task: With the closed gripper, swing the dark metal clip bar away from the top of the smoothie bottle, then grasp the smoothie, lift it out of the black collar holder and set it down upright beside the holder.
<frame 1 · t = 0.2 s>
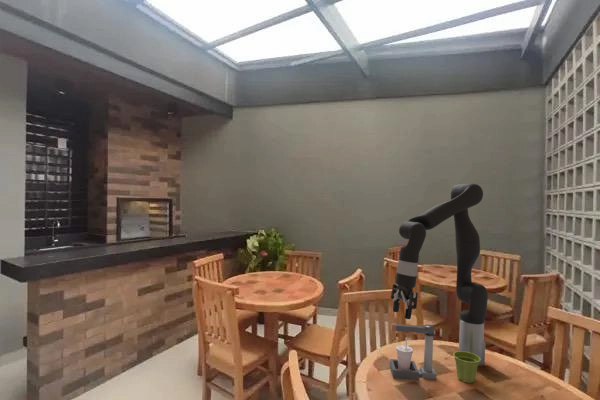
hand: (401, 315, 133), 23 cm above the table, tool pointing down, fingers open, 8 cm apart
holder: (403, 373, 135), on the table
smoothie: (403, 373, 135), resting in holder
clip: (412, 328, 135), point 18 cm above the table, hinge at 0.0°
plant pot: (465, 379, 132), on the table
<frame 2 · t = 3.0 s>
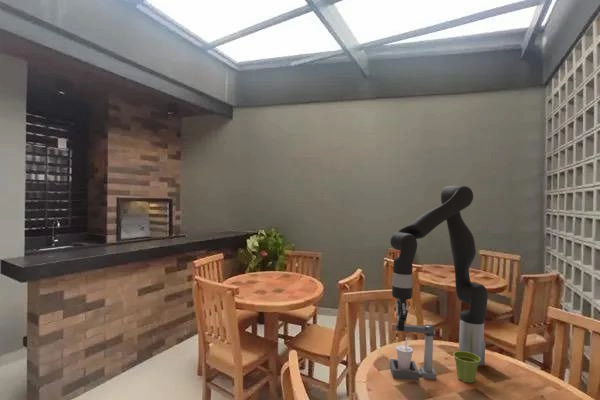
hand: (400, 330, 133), 17 cm above the table, tool pointing down, fingers closed
clip: (412, 328, 135), point 18 cm above the table, hinge at -0.9°, touching gripper
everything else where it was.
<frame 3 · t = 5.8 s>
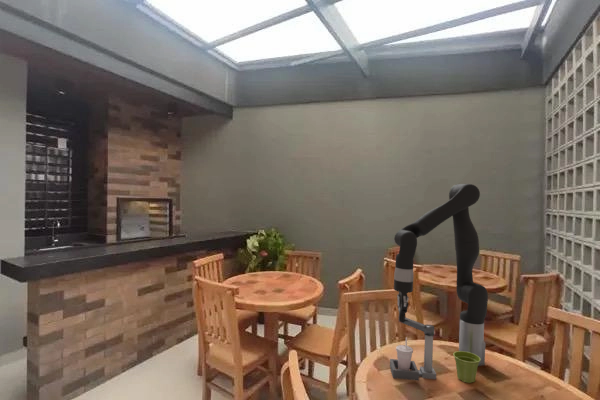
hand: (401, 321, 142), 18 cm above the table, tool pointing down, fingers closed
clip: (415, 324, 139), point 18 cm above the table, hinge at -49.6°, touching gripper
everything else where it was.
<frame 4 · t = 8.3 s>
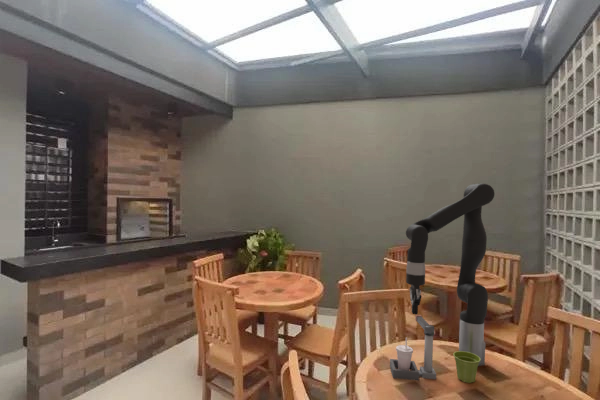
hand: (414, 313, 146), 20 cm above the table, tool pointing down, fingers closed
clip: (424, 324, 140), point 18 cm above the table, hinge at -84.6°
everything else where it was.
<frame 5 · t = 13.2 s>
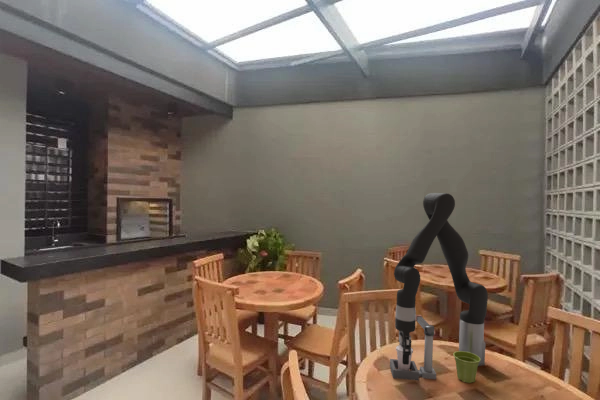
hand: (404, 359, 135), 5 cm above the table, tool pointing down, fingers closed on smoothie, 6 cm apart
smoothie: (403, 373, 135), resting in holder, touching gripper
everything else where it was.
when the fingers open (6 cm above the table, at t = 20.2 s): smoothie stays where it is, on the table.
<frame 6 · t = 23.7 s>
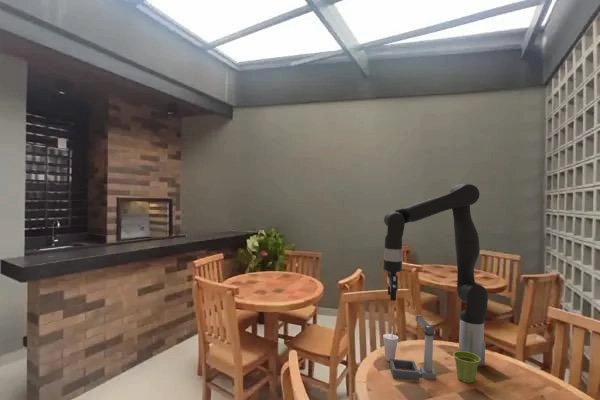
hand: (391, 297, 147), 26 cm above the table, tool pointing down, fingers open, 8 cm apart
smoothie: (389, 359, 147), on the table
everything else where it was.
at the end: clip at -85° (first picture: +0°); smoothie inside the target area (0.1 cm from its centre), on the table; smoothie tilted 0° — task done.
